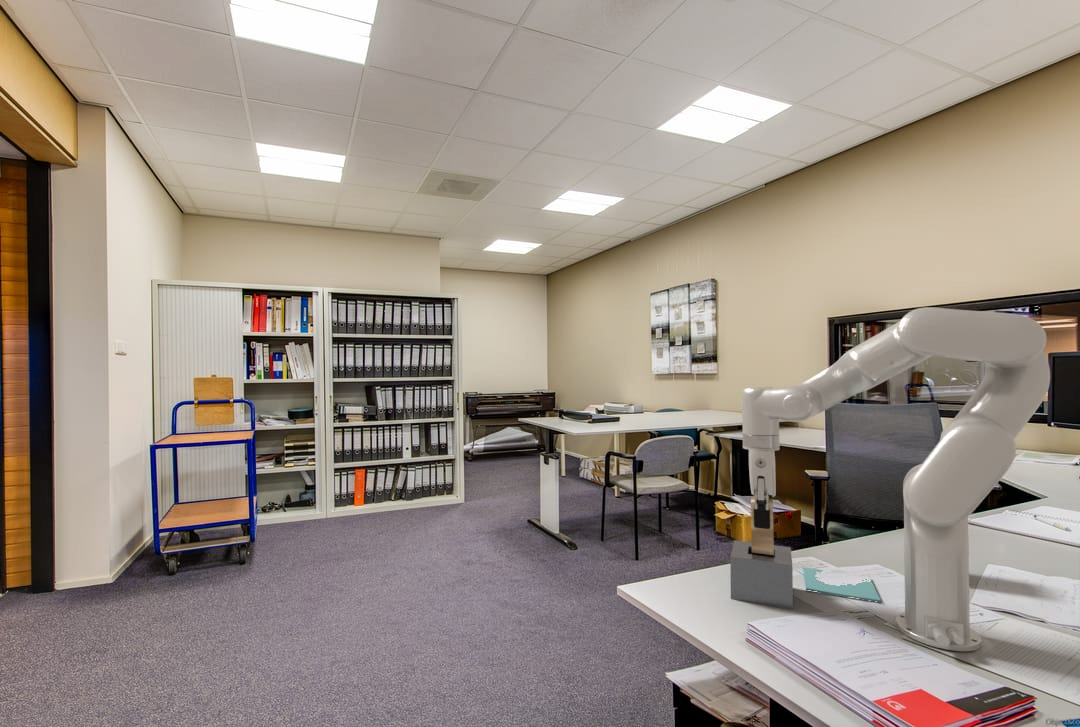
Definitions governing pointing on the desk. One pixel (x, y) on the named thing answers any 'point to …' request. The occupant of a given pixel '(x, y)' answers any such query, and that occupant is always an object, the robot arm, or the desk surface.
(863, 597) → the teal mat
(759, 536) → the oak plug
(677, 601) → the desk surface
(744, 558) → the grey block with hole
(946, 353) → the robot arm
